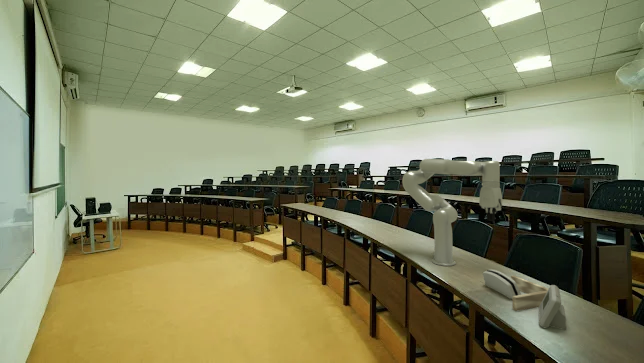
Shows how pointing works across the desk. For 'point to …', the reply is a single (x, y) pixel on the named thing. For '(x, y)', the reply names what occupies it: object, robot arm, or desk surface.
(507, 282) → the white pencil case
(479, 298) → the desk surface
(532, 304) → the wooden corner wall
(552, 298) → the digital clock
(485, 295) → the desk surface
